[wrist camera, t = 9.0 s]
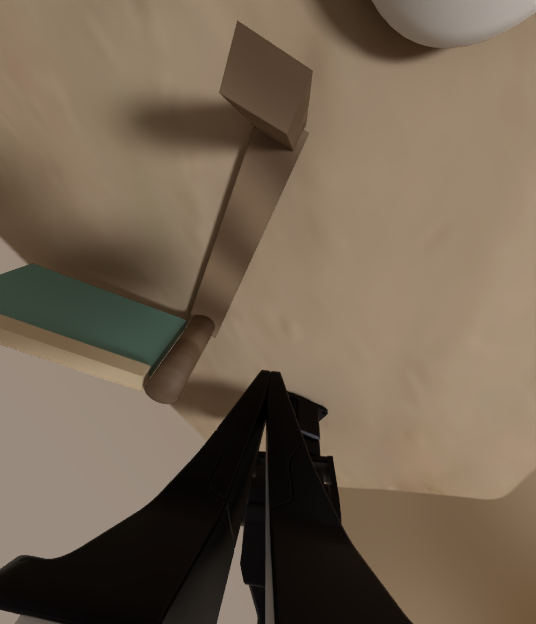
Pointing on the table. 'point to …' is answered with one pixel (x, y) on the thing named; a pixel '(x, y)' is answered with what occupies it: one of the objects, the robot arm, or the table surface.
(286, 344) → the table surface
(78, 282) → the panel
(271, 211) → the gate frame
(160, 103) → the table surface
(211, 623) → the robot arm
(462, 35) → the flower in vase
